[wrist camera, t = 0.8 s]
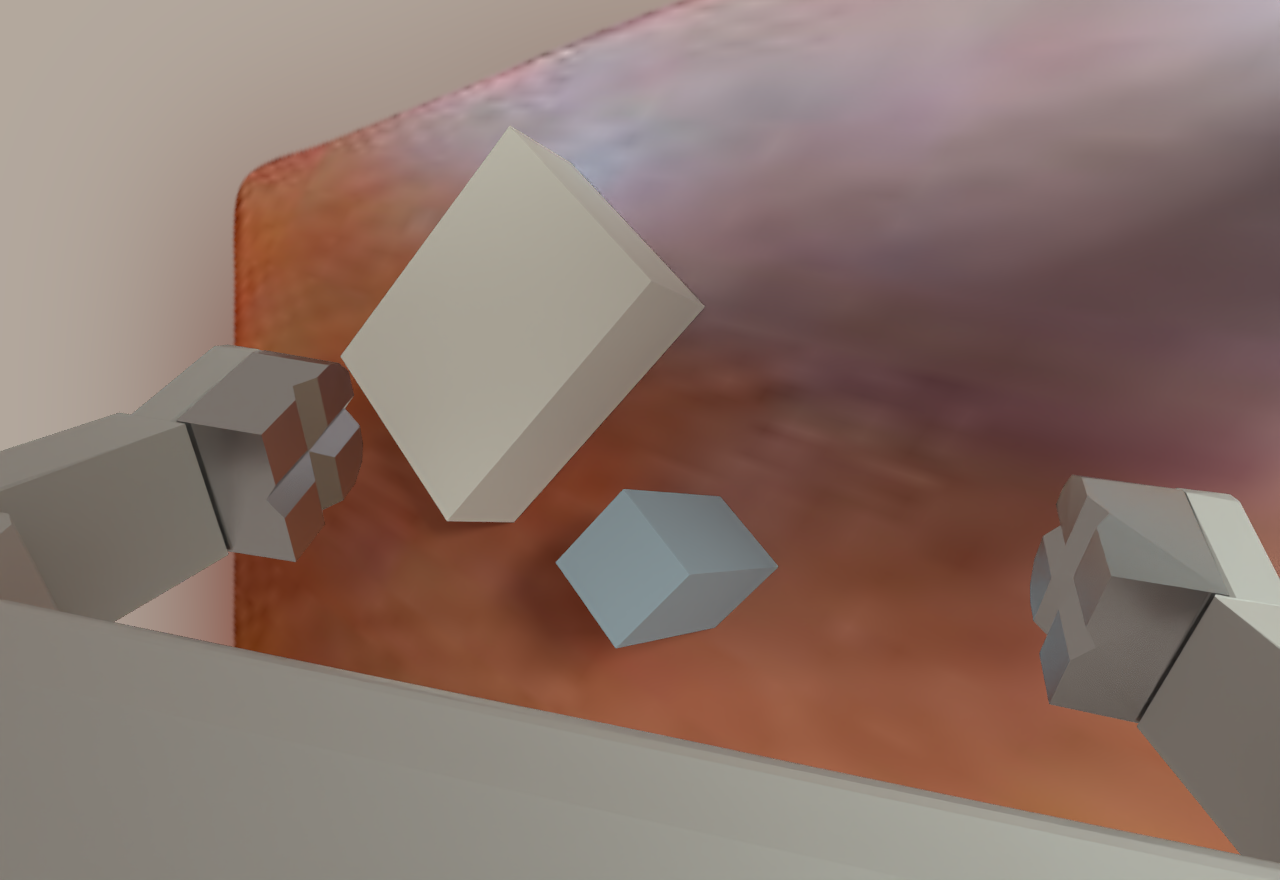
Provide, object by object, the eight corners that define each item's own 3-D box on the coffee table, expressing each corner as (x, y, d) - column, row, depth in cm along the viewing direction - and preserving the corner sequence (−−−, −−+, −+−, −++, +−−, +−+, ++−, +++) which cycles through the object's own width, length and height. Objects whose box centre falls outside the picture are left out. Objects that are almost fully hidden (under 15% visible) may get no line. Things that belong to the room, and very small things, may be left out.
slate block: (720, 496, 49) (623, 489, 40) (778, 566, 47) (689, 574, 38) (660, 557, 50) (555, 562, 42) (714, 627, 48) (615, 648, 40)
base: (570, 163, 56) (509, 125, 51) (705, 306, 50) (651, 280, 45) (409, 371, 62) (340, 356, 56) (513, 522, 56) (446, 521, 51)
